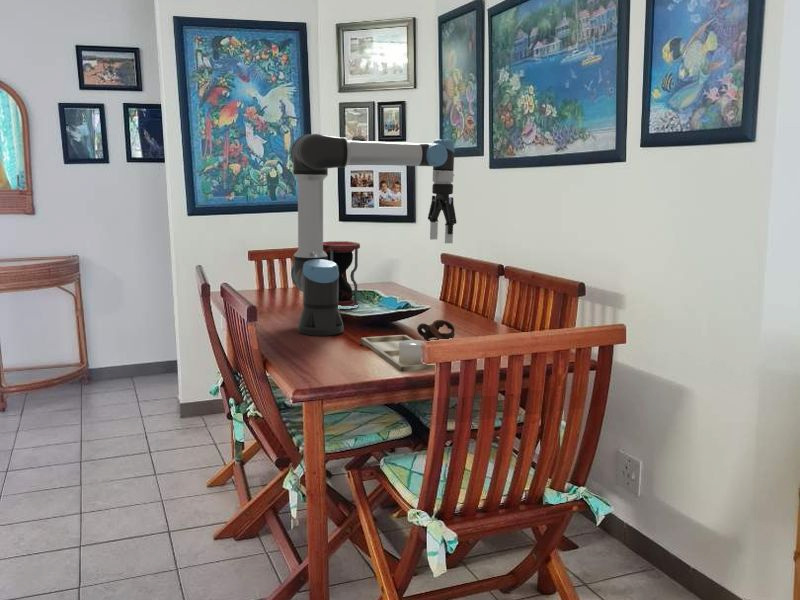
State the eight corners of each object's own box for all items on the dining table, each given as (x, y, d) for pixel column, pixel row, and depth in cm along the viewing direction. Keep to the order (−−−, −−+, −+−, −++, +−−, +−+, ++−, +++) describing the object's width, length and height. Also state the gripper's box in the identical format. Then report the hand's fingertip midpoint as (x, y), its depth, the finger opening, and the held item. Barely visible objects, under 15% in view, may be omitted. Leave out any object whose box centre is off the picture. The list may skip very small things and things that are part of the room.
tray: (401, 374, 197) (401, 367, 197) (360, 343, 229) (361, 337, 229) (451, 369, 202) (452, 362, 202) (405, 340, 235) (405, 334, 234)
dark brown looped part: (449, 340, 239) (457, 321, 234) (448, 359, 232) (456, 340, 227) (414, 330, 238) (421, 311, 233) (412, 349, 231) (419, 329, 226)
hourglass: (328, 301, 298) (328, 240, 294) (365, 304, 293) (365, 242, 289) (311, 308, 283) (311, 244, 279) (350, 311, 278) (350, 246, 274)
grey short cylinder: (405, 366, 202) (405, 348, 201) (394, 358, 210) (394, 341, 209) (435, 363, 205) (435, 346, 204) (422, 355, 214) (423, 339, 213)
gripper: (467, 184, 256) (465, 244, 260) (438, 182, 279) (436, 237, 283) (447, 184, 253) (445, 245, 257) (420, 181, 276) (418, 238, 280)
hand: (441, 241), depth 270 cm, fingers open, 13 cm apart
